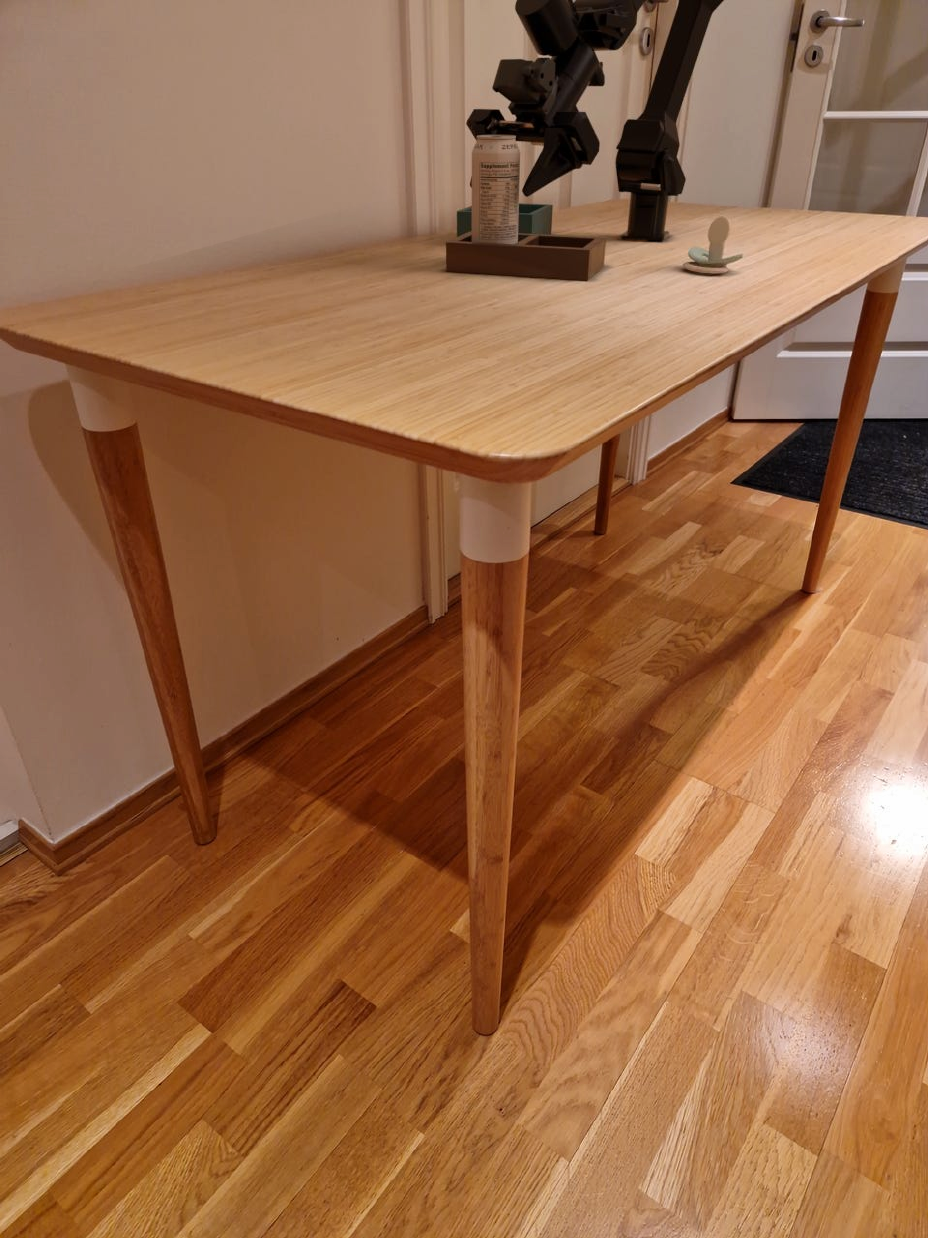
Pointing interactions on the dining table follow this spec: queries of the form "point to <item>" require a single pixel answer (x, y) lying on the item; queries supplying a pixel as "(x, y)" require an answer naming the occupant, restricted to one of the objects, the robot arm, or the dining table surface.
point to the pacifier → (712, 250)
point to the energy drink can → (495, 189)
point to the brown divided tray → (529, 256)
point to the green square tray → (529, 219)
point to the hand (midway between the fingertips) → (497, 190)
